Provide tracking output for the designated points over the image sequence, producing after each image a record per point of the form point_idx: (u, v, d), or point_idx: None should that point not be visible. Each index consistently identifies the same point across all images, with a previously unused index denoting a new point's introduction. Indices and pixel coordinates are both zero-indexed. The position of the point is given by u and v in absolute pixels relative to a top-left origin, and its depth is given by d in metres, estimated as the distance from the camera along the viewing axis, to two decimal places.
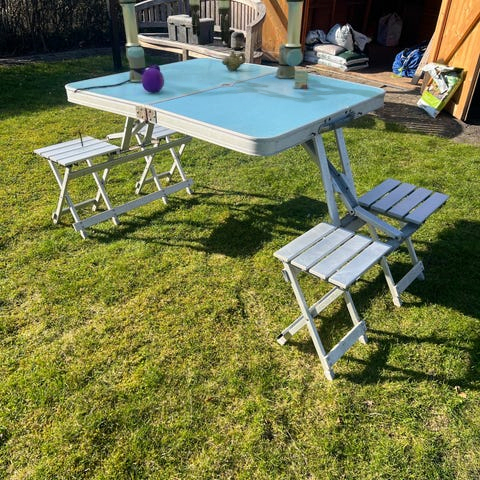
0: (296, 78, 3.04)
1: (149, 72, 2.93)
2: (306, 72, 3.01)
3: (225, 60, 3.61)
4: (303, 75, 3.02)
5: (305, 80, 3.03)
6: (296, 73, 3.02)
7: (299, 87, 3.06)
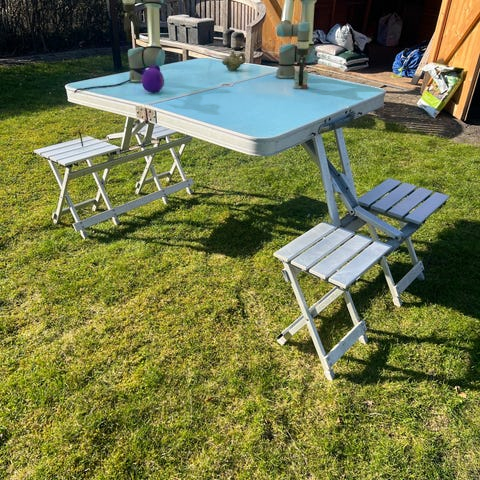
0: (296, 78, 3.04)
1: (149, 72, 2.93)
2: (306, 72, 3.01)
3: (225, 60, 3.61)
4: (303, 75, 3.02)
5: (305, 80, 3.03)
6: (296, 73, 3.02)
7: (299, 87, 3.06)
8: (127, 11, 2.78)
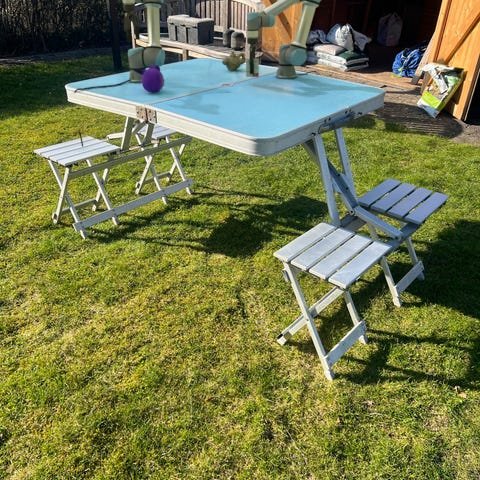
0: (247, 67, 3.14)
1: (149, 72, 2.93)
2: (257, 61, 3.11)
3: (225, 60, 3.61)
4: (254, 63, 3.12)
5: (256, 69, 3.14)
6: (247, 62, 3.12)
7: (250, 76, 3.17)
8: (127, 11, 2.78)
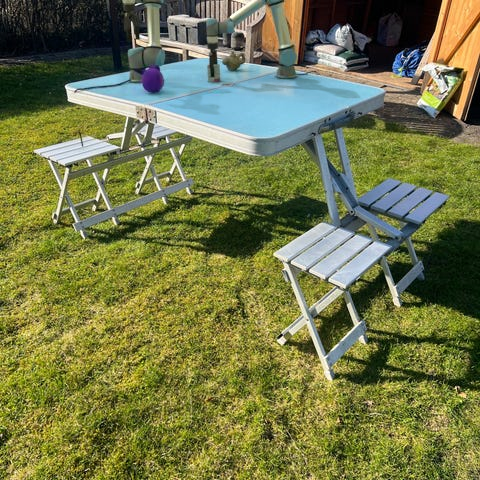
0: (208, 72, 3.29)
1: (149, 72, 2.93)
2: (217, 67, 3.25)
3: (225, 60, 3.61)
4: (215, 69, 3.27)
5: (217, 74, 3.28)
6: (208, 67, 3.27)
7: (212, 81, 3.31)
8: (127, 11, 2.78)
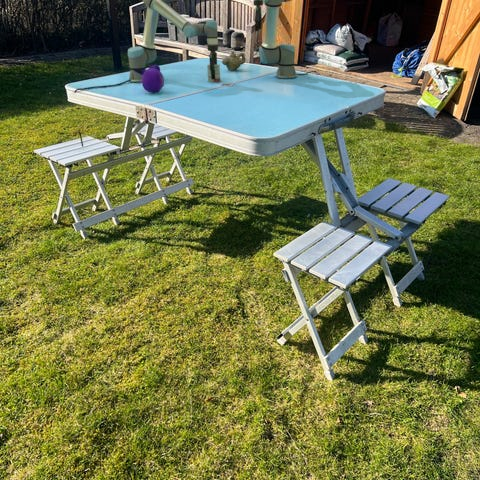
0: (208, 72, 3.29)
1: (149, 72, 2.93)
2: (217, 67, 3.25)
3: (225, 60, 3.61)
4: (215, 69, 3.27)
5: (217, 74, 3.28)
6: (208, 67, 3.27)
7: (212, 81, 3.31)
8: (211, 51, 3.19)
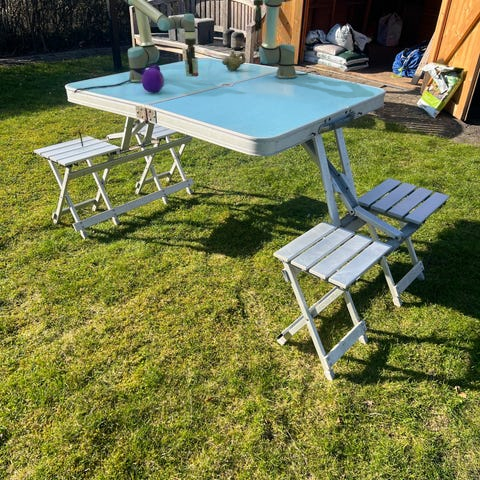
0: (186, 66, 3.24)
1: (149, 72, 2.93)
2: (195, 61, 3.21)
3: (225, 60, 3.61)
4: (193, 63, 3.22)
5: (195, 69, 3.24)
6: (186, 62, 3.23)
7: (189, 75, 3.27)
8: (189, 45, 3.15)
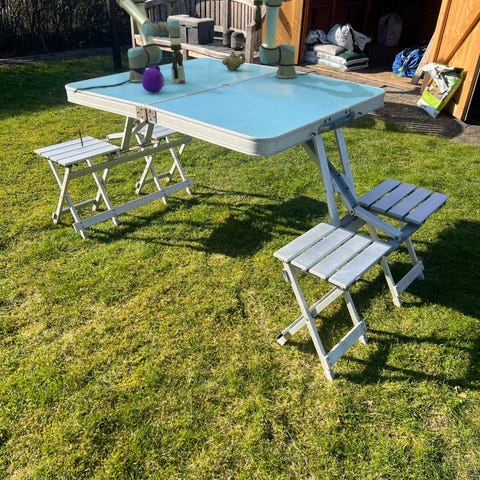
0: (172, 74, 3.25)
1: (149, 72, 2.93)
2: (181, 68, 3.22)
3: (225, 60, 3.61)
4: (179, 71, 3.23)
5: (181, 76, 3.25)
6: (172, 69, 3.23)
7: (176, 83, 3.28)
8: (174, 51, 3.15)
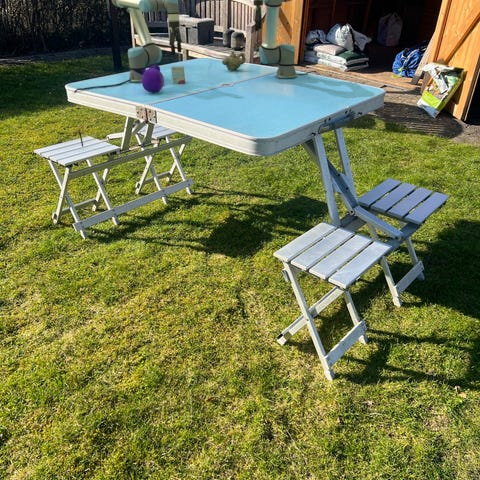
0: (172, 74, 3.25)
1: (149, 72, 2.93)
2: (181, 68, 3.22)
3: (225, 60, 3.61)
4: (179, 71, 3.23)
5: (181, 76, 3.25)
6: (172, 69, 3.23)
7: (176, 83, 3.28)
8: (172, 27, 3.08)
